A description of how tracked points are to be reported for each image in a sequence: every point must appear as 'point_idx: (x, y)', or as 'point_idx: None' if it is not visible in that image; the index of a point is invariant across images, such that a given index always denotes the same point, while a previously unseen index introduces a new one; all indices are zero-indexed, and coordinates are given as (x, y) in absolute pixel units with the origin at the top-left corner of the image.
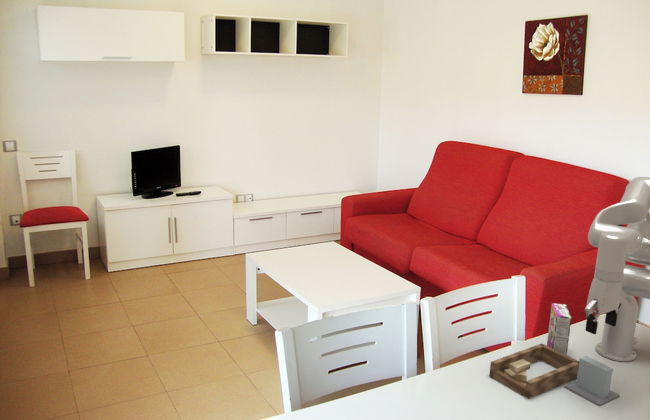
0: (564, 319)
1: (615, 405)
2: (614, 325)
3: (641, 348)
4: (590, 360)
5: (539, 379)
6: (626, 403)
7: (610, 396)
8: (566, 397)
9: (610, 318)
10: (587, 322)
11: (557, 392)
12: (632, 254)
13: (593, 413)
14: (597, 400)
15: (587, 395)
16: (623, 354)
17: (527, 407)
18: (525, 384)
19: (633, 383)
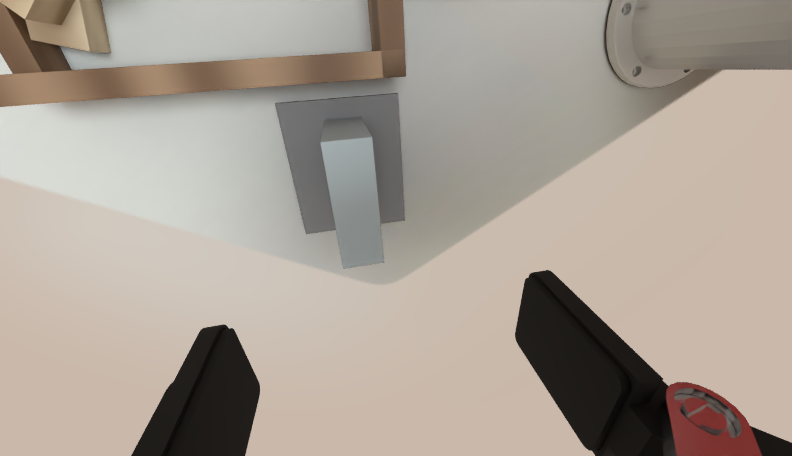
0: None
1: None
2: (523, 343)
3: None
4: (354, 180)
5: (75, 95)
6: (391, 245)
7: None
8: (237, 155)
9: (556, 361)
10: (158, 433)
11: (225, 116)
12: None
13: (260, 247)
14: (316, 217)
15: (309, 185)
16: (650, 62)
17: (25, 143)
18: (51, 33)
19: (505, 184)
